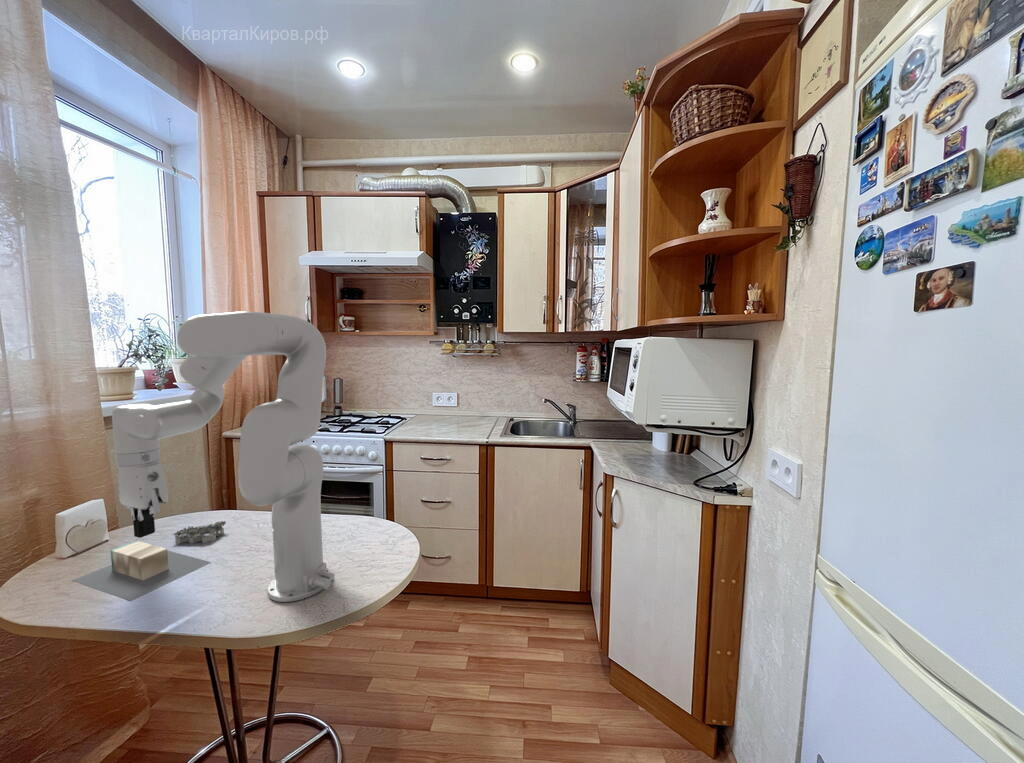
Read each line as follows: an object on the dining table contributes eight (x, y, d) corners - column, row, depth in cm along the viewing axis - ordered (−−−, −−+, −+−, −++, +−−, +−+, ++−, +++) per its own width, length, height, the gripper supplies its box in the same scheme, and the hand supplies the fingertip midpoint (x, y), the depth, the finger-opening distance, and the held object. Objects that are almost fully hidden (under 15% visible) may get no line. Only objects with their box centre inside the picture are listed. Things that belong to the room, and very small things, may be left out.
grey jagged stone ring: (229, 534, 114) (228, 520, 114) (208, 547, 107) (207, 532, 106) (192, 534, 114) (191, 520, 114) (169, 546, 107) (168, 532, 106)
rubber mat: (211, 564, 97) (211, 562, 97) (130, 603, 82) (130, 601, 82) (155, 549, 105) (155, 547, 105) (72, 582, 90) (72, 580, 90)
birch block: (167, 548, 94) (136, 540, 98) (141, 559, 89) (110, 550, 93) (168, 568, 94) (138, 559, 99) (143, 580, 90) (112, 570, 94)
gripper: (178, 456, 92) (183, 532, 93) (138, 451, 97) (144, 523, 98) (138, 465, 85) (145, 547, 86) (98, 459, 90) (105, 536, 91)
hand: (144, 534), depth 92 cm, fingers closed
